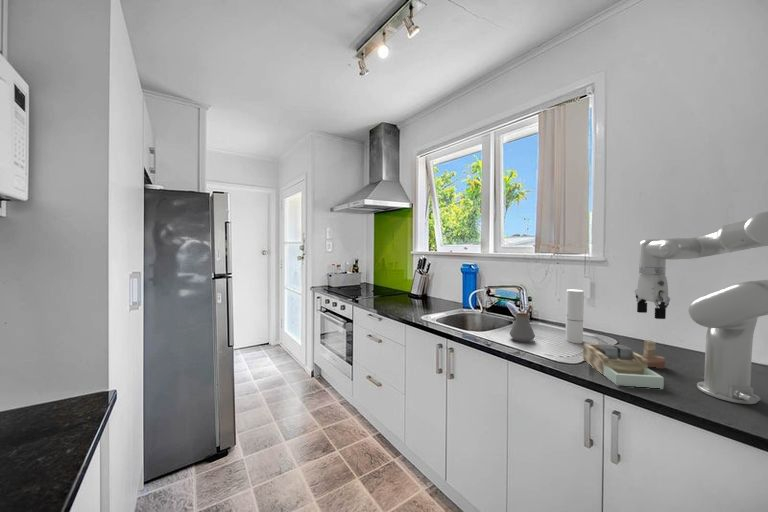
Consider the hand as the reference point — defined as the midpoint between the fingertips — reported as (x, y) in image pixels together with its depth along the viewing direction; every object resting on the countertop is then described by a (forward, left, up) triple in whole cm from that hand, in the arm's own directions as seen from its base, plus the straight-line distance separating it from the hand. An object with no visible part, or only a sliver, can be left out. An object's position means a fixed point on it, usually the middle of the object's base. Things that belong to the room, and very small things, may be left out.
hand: (650, 315), depth 115 cm
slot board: (-5, +15, -20) cm, 25 cm away
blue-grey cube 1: (-6, +13, -15) cm, 21 cm away
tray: (-16, +15, -20) cm, 30 cm away
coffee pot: (+30, +37, -20) cm, 52 cm away
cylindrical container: (+28, +15, -20) cm, 38 cm away
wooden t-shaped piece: (0, 0, -20) cm, 20 cm away
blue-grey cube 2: (-6, +18, -15) cm, 24 cm away
